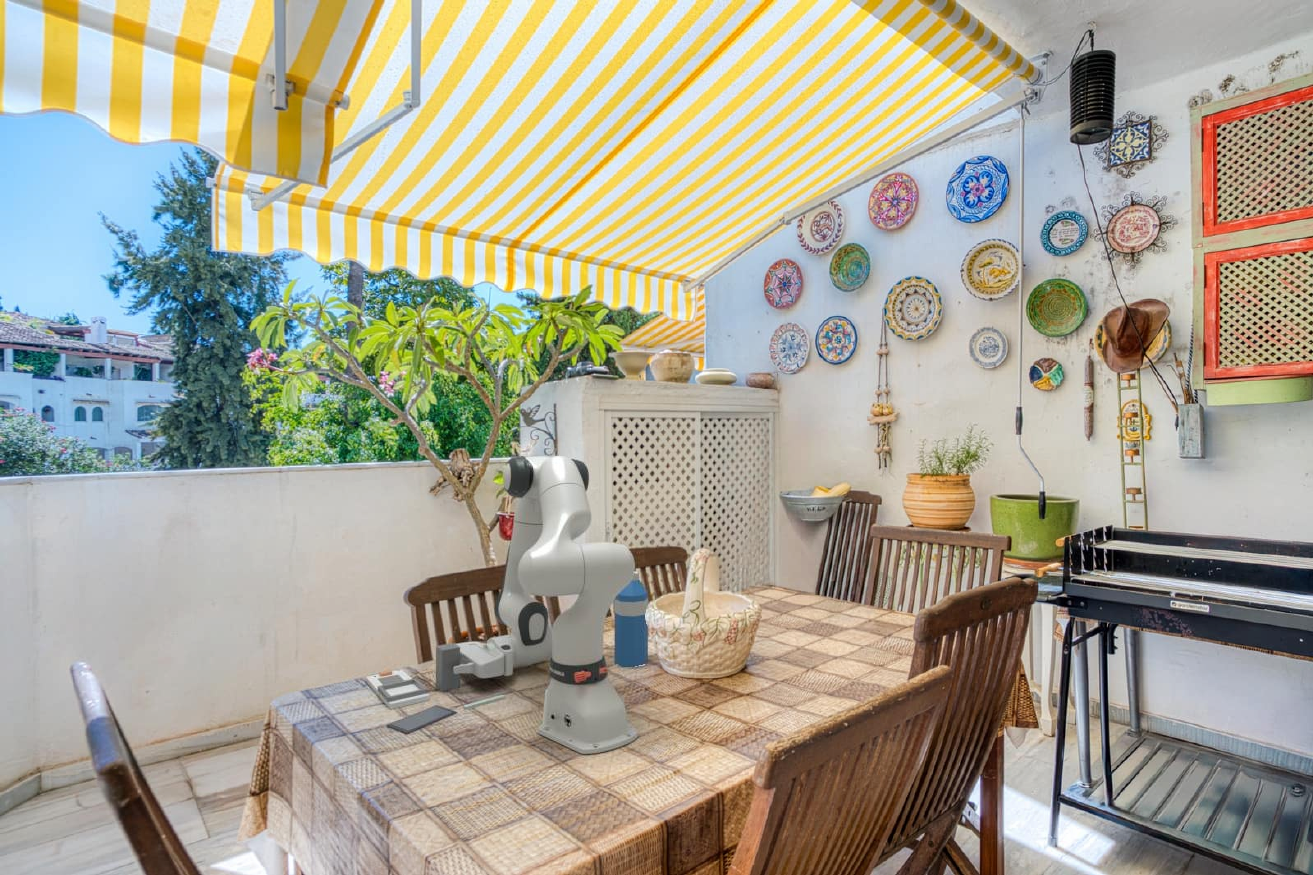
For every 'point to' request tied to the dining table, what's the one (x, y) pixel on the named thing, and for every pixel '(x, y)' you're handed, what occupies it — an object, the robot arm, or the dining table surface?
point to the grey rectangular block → (447, 666)
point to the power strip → (398, 688)
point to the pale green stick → (483, 702)
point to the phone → (421, 719)
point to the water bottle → (631, 625)
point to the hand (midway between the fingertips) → (446, 664)
